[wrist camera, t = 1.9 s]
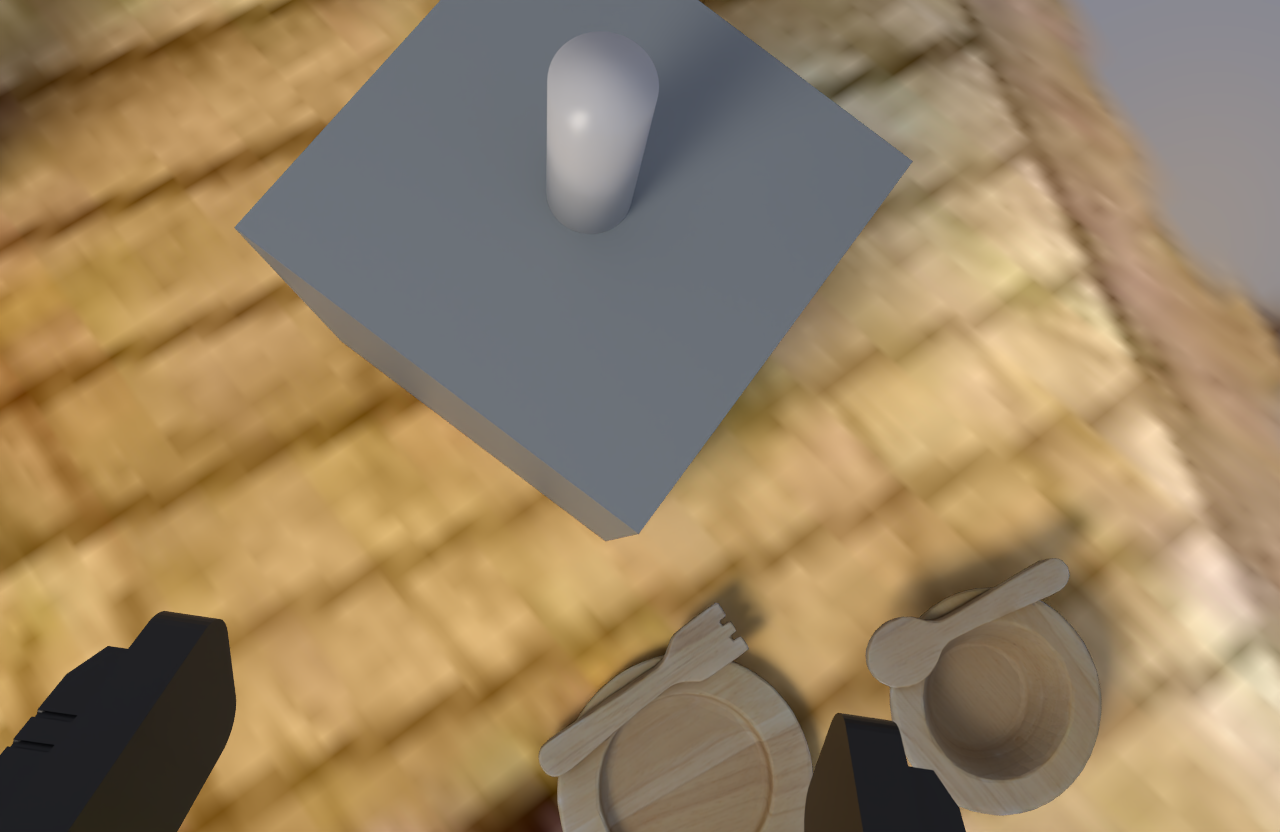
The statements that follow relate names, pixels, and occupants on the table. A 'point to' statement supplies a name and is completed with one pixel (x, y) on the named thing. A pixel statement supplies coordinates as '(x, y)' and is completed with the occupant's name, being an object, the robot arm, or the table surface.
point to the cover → (575, 231)
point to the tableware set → (776, 746)
